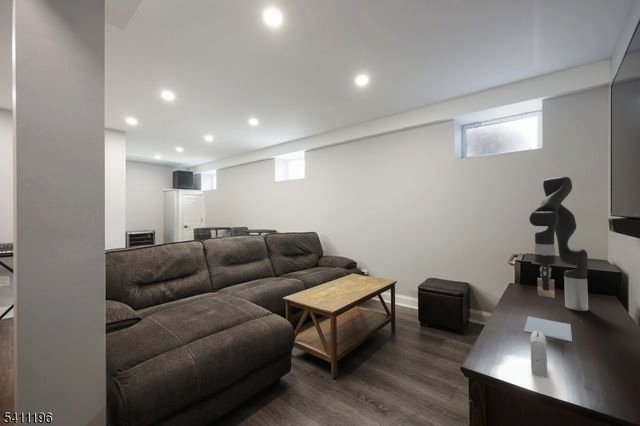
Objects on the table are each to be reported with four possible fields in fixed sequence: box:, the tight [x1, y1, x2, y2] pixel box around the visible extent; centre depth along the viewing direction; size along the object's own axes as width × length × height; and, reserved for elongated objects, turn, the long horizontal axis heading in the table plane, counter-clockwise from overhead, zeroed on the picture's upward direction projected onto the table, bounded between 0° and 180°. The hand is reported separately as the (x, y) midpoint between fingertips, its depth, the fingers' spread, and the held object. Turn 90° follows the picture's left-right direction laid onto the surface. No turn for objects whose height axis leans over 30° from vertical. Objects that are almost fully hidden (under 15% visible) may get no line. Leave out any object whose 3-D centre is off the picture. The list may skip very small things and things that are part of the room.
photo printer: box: [529, 331, 548, 377], centre depth 92 cm, size 10×4×12 cm, turn 140°
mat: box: [523, 316, 573, 343], centre depth 124 cm, size 22×16×1 cm
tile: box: [536, 277, 556, 299], centre depth 126 cm, size 2×6×8 cm, turn 48°
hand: (546, 289), depth 126 cm, fingers closed on tile, 1 cm apart
